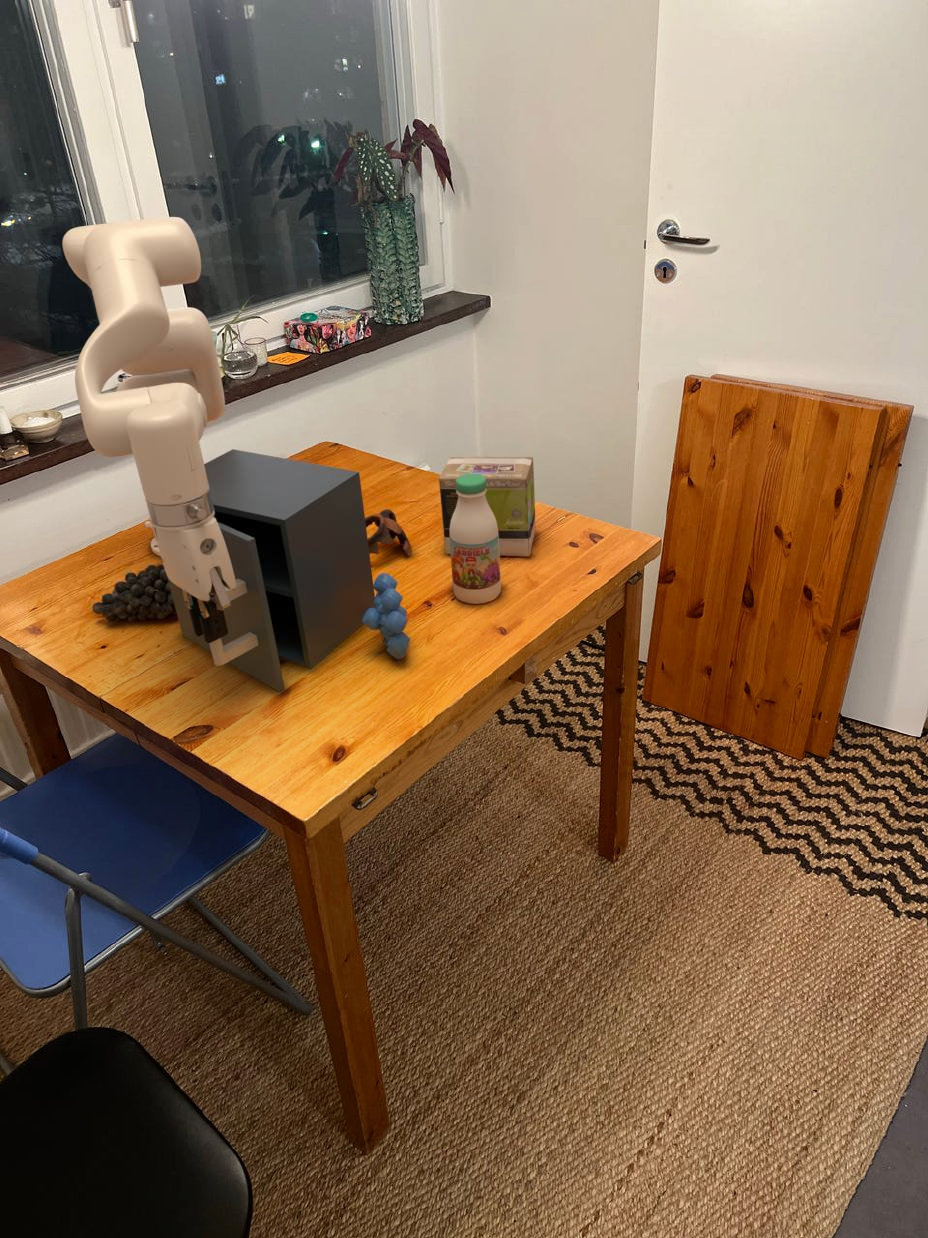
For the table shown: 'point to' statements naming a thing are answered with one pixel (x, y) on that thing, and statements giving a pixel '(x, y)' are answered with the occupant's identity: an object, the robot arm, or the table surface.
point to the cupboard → (300, 546)
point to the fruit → (139, 597)
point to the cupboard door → (240, 616)
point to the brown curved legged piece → (386, 531)
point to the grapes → (388, 616)
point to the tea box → (496, 498)
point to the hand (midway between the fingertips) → (211, 634)
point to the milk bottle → (474, 543)
